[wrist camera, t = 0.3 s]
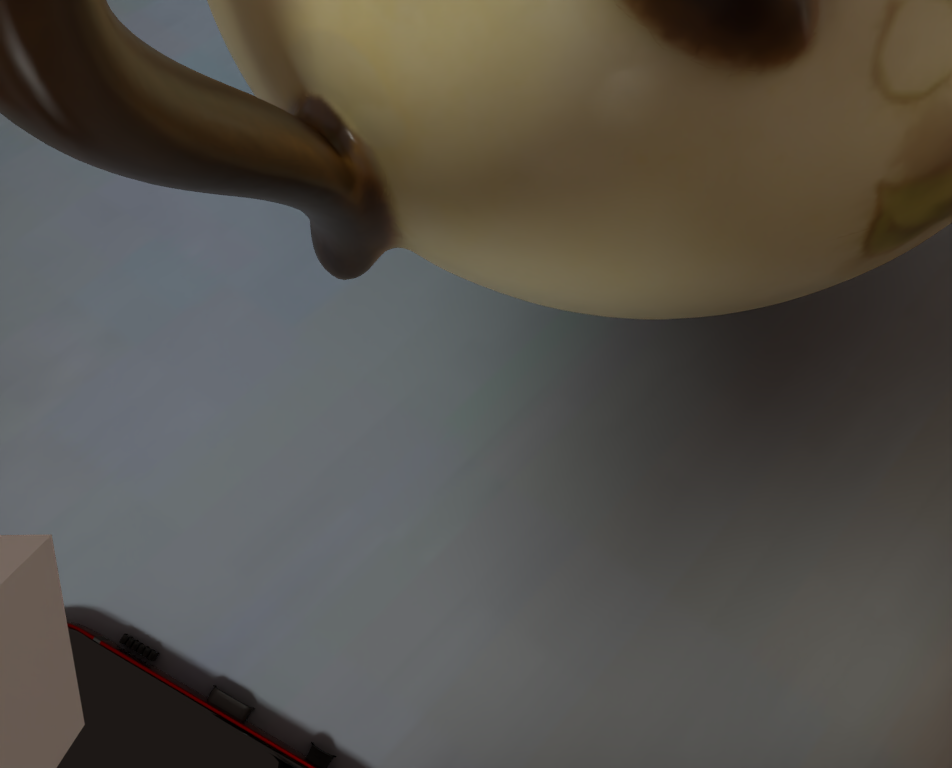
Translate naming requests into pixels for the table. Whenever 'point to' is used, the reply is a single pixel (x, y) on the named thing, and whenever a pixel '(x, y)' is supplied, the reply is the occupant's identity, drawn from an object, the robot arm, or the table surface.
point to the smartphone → (162, 717)
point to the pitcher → (534, 135)
